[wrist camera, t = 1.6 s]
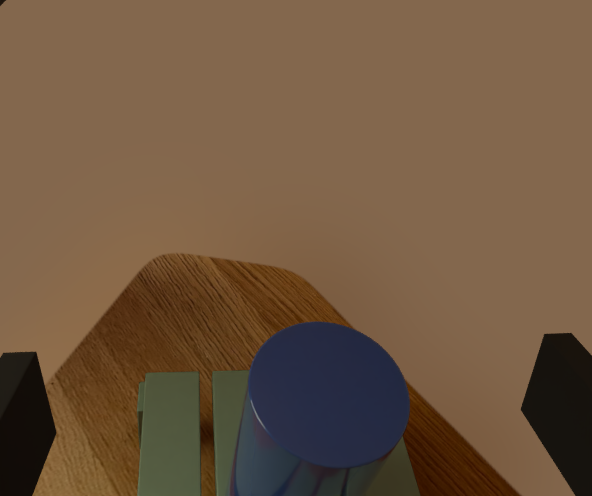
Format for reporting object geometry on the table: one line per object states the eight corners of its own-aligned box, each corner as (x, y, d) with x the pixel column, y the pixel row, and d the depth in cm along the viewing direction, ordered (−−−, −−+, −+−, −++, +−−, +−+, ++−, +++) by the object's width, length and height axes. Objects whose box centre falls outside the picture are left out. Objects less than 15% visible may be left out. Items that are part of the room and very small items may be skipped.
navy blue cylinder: (222, 444, 29) (242, 321, 22) (332, 437, 31) (386, 320, 23) (228, 573, 25) (255, 474, 18) (357, 559, 26) (432, 461, 19)
